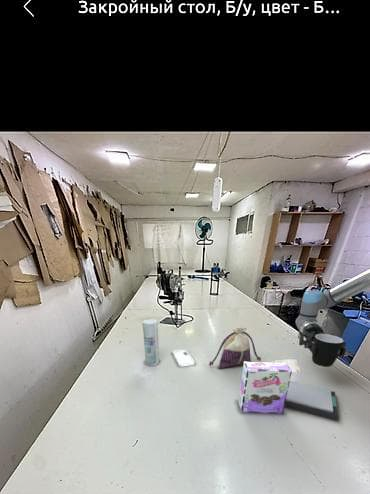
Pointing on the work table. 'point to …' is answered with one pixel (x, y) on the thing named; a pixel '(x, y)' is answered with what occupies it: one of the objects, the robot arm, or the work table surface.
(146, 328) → the spray can
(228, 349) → the pouch
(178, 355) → the phone case
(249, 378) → the candy box
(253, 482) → the work table surface
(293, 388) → the scale
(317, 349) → the mug
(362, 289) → the robot arm
